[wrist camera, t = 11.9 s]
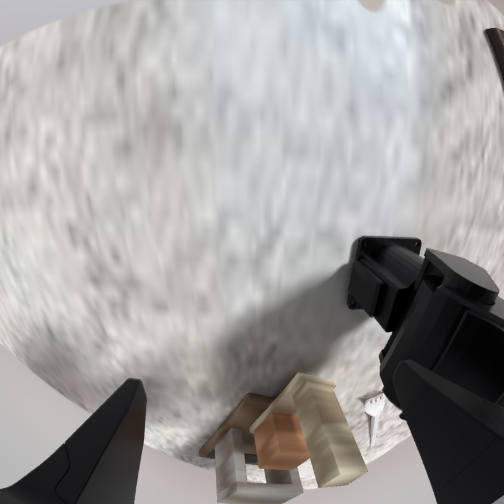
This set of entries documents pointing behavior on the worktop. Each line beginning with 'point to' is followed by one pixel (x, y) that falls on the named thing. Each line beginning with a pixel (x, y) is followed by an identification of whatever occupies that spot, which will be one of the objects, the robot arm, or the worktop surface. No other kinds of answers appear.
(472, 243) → the worktop surface
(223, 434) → the tunnel
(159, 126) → the worktop surface
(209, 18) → the worktop surface
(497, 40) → the hardcover book
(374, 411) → the fork
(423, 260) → the robot arm
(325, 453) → the beige orange stepped block
